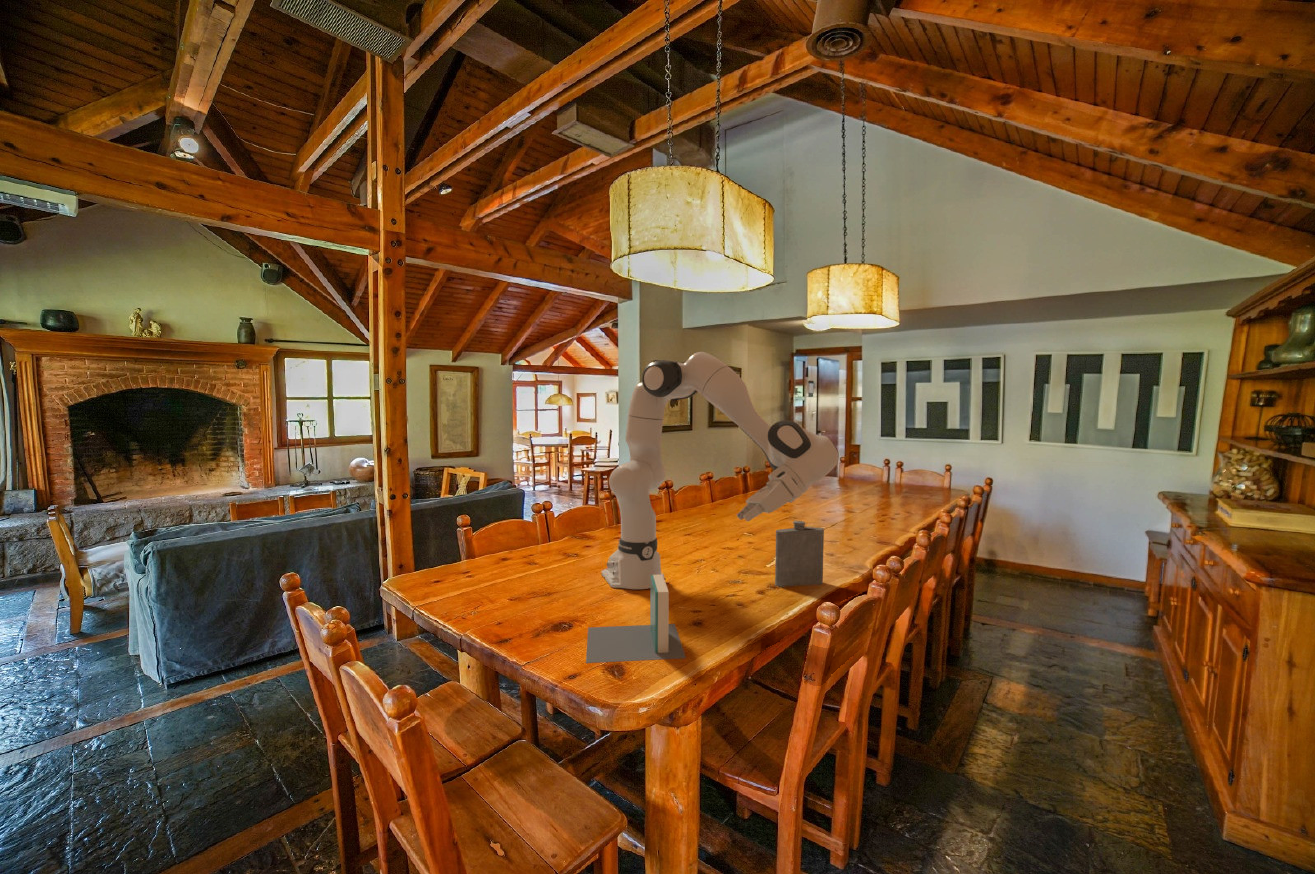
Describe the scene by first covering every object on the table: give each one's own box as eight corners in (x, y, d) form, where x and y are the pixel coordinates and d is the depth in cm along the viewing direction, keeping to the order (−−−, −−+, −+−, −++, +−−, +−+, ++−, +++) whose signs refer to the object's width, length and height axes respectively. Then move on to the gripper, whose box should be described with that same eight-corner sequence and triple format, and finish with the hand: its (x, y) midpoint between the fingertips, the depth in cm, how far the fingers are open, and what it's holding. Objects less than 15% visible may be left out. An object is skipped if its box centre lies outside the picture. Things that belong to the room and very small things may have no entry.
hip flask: (777, 587, 160) (778, 524, 158) (772, 583, 164) (773, 521, 162) (824, 584, 163) (826, 521, 162) (818, 580, 167) (819, 519, 166)
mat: (674, 625, 132) (674, 623, 132) (685, 659, 114) (686, 658, 114) (588, 629, 130) (588, 627, 130) (585, 664, 112) (585, 663, 112)
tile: (662, 629, 129) (662, 574, 128) (668, 652, 117) (668, 591, 116) (650, 630, 128) (650, 574, 127) (655, 653, 116) (655, 592, 116)
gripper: (767, 476, 141) (727, 507, 140) (787, 473, 121) (741, 509, 119) (781, 495, 140) (742, 526, 139) (804, 494, 120) (757, 531, 119)
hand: (741, 518), depth 129 cm, fingers open, 8 cm apart
